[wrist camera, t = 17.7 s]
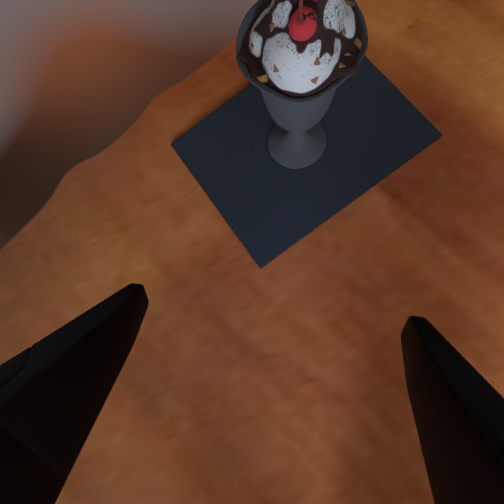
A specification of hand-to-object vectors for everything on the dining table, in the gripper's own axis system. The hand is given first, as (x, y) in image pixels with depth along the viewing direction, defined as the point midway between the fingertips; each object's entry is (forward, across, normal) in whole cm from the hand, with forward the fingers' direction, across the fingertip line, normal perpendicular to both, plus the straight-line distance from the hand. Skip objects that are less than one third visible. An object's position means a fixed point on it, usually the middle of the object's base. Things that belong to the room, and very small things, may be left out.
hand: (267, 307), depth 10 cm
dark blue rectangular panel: (+19, 0, 0) cm, 19 cm away
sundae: (+19, 0, 0) cm, 19 cm away
